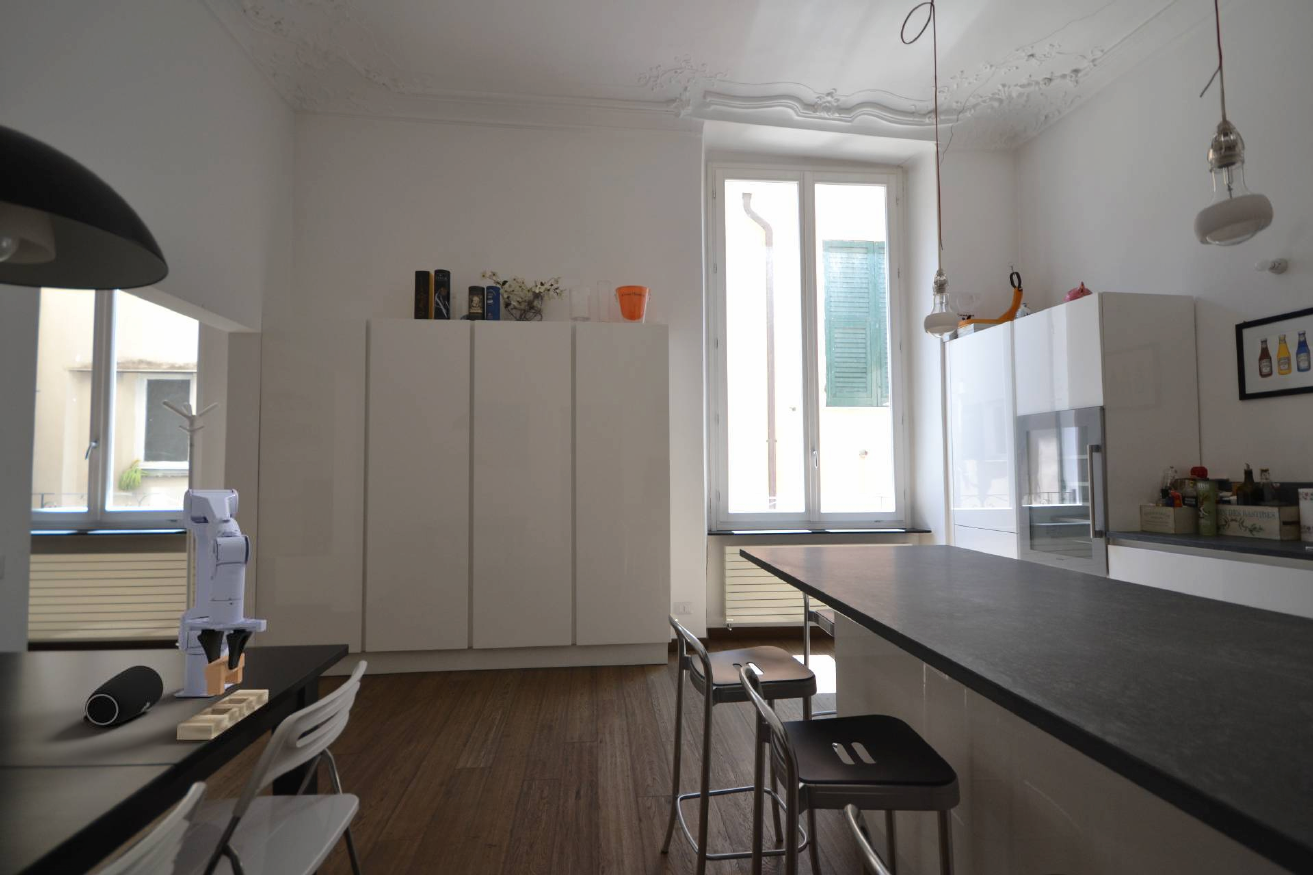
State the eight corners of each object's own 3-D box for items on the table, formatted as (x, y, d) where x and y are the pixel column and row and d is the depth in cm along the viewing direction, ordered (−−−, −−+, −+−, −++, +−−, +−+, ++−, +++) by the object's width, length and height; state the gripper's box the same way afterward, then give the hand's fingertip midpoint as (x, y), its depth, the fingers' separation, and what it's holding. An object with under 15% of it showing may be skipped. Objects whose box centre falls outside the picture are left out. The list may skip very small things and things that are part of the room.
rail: (238, 701, 142) (238, 689, 142) (267, 701, 142) (268, 689, 143) (176, 739, 122) (177, 725, 122) (211, 739, 123) (212, 725, 123)
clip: (228, 680, 137) (229, 653, 137) (243, 680, 137) (244, 653, 138) (204, 695, 129) (205, 666, 129) (220, 695, 129) (221, 665, 130)
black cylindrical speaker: (136, 717, 127) (172, 694, 137) (110, 676, 126) (148, 656, 136) (79, 749, 126) (120, 724, 136) (53, 709, 126) (95, 686, 136)
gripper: (175, 601, 129) (171, 674, 129) (254, 602, 130) (250, 674, 129) (198, 595, 136) (195, 664, 136) (272, 595, 137) (269, 663, 136)
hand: (223, 668), depth 133 cm, fingers closed on clip, 3 cm apart
